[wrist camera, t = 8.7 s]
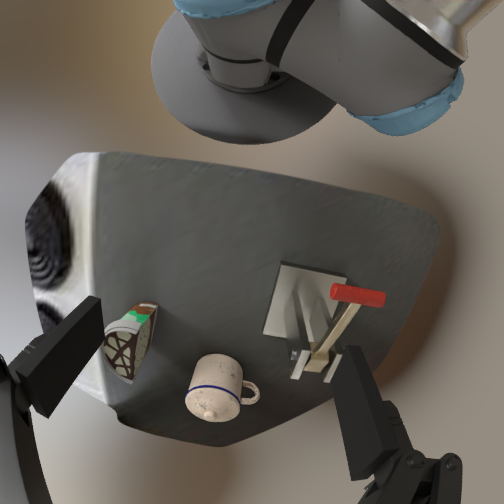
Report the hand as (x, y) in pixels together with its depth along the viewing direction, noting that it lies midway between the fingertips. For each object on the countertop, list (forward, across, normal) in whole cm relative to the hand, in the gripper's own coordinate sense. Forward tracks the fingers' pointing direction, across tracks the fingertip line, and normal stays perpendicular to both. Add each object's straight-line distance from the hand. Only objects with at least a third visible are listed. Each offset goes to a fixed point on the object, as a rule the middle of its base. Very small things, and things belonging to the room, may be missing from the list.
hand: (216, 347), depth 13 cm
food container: (+26, -16, -20) cm, 37 cm away
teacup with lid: (+26, +1, -27) cm, 38 cm away
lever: (+13, +11, -5) cm, 17 cm away
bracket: (+26, +10, -11) cm, 30 cm away
